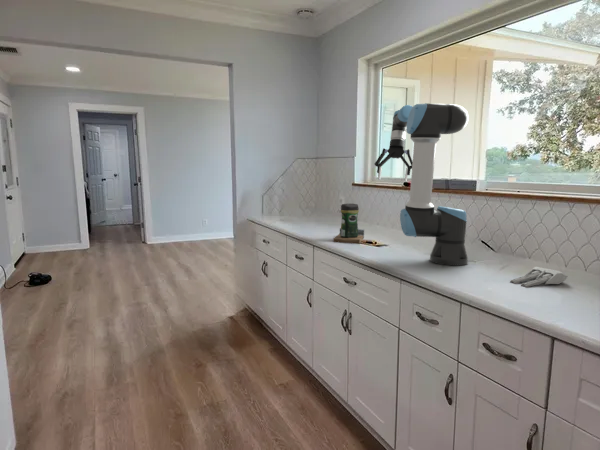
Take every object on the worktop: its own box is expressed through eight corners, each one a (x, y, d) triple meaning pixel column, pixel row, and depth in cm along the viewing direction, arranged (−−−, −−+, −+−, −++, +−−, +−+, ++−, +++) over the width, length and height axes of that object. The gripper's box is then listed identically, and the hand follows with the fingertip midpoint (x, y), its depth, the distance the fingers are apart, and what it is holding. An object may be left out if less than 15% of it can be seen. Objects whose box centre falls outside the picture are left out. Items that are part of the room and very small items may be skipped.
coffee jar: (353, 235, 215) (354, 202, 213) (360, 237, 208) (361, 203, 205) (337, 236, 212) (338, 203, 209) (344, 238, 204) (345, 204, 202)
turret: (505, 287, 134) (504, 274, 133) (546, 274, 140) (546, 262, 139) (530, 296, 125) (530, 282, 124) (573, 282, 131) (573, 269, 130)
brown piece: (359, 243, 200) (359, 234, 200) (333, 242, 204) (333, 232, 204) (364, 238, 219) (364, 229, 218) (340, 236, 223) (340, 228, 222)
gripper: (422, 143, 196) (417, 183, 195) (375, 142, 206) (369, 180, 204) (421, 138, 189) (416, 180, 188) (372, 137, 199) (367, 177, 197)
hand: (392, 180), depth 196 cm, fingers open, 13 cm apart
